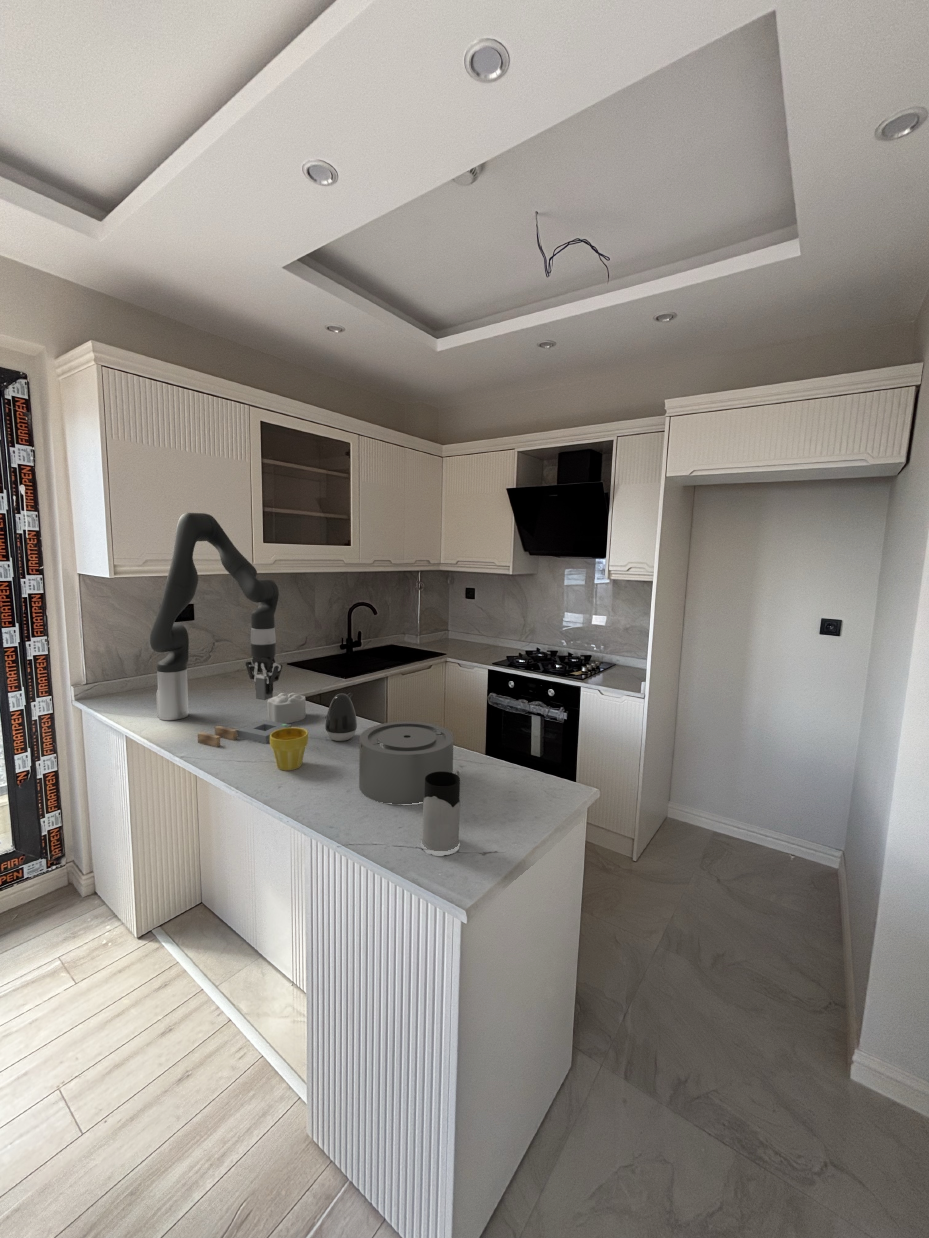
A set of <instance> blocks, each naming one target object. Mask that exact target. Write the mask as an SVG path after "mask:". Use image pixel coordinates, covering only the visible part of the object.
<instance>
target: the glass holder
mask: <svg viewBox="0 0 929 1238" xmlns="http://www.w3.org/2000/svg"><path fill="white" fill-rule="evenodd" d="M460 788H461V772H460V770H457V769H455V770H453V773H451V772H442V771H440V772H433V773H430V774H428V775H427V776H426V777H425V792H424V798H423V804H422V806H423V807H422V809H423V810H422V838H421V840H422V844H423V845H424V847H426V848H427V849H430V850H434V851H448V850H451V849H454V848H455V847H457V846H458V844H459V841H460V812H461V800H460V790H461V789H460Z"/></svg>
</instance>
